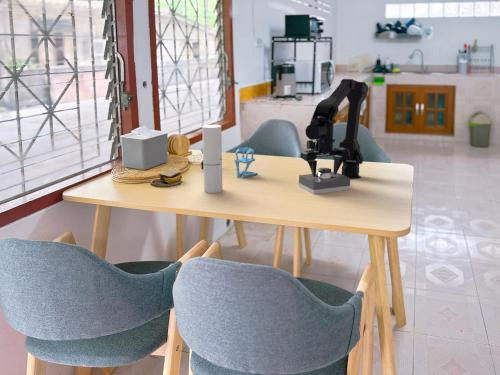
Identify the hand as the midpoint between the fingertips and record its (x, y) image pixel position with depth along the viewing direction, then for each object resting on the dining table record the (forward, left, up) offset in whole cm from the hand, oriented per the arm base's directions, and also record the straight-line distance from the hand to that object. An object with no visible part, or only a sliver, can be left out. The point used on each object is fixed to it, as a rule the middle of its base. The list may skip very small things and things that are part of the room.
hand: (324, 175), depth 213 cm
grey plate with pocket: (0, 0, -5) cm, 5 cm away
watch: (+31, -51, -5) cm, 60 cm away
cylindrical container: (+41, -14, -5) cm, 44 cm away
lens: (0, 0, -4) cm, 4 cm away
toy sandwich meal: (+55, -33, -6) cm, 64 cm away
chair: (+21, -31, -5) cm, 38 cm away
